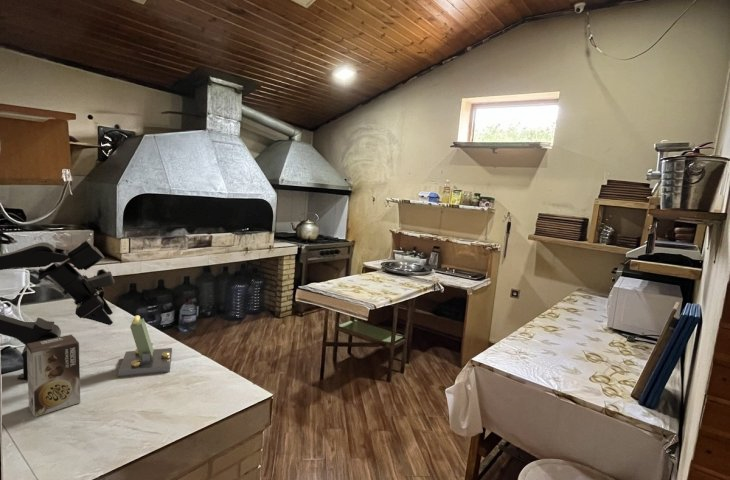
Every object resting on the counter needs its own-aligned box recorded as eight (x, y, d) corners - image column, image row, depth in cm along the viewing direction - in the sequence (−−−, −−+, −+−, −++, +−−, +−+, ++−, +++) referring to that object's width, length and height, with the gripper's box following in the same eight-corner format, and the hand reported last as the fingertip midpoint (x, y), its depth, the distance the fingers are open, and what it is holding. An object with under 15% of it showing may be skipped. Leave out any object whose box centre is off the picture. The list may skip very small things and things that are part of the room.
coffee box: (73, 393, 100) (72, 333, 98) (81, 403, 96) (80, 341, 94) (27, 406, 93) (25, 342, 91) (33, 417, 89) (32, 351, 87)
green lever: (141, 362, 115) (128, 322, 112) (143, 355, 120) (131, 316, 117) (152, 359, 116) (140, 319, 113) (154, 351, 121) (142, 313, 118)
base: (118, 377, 110) (118, 359, 109) (126, 357, 121) (126, 341, 121) (169, 372, 115) (170, 355, 114) (172, 353, 127) (172, 338, 126)
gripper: (96, 269, 103) (138, 310, 110) (98, 256, 119) (134, 292, 126) (55, 297, 99) (101, 337, 106) (63, 279, 115) (102, 316, 122)
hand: (111, 318), depth 115 cm, fingers open, 9 cm apart
